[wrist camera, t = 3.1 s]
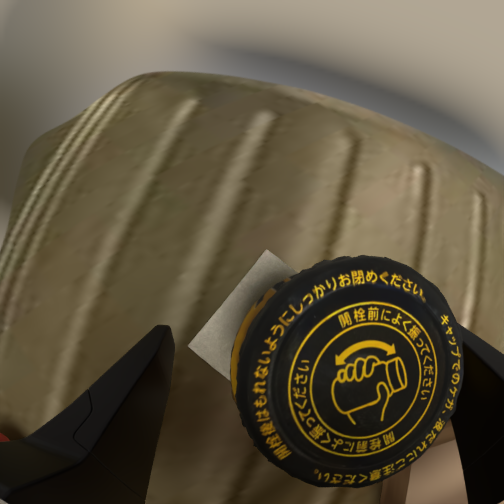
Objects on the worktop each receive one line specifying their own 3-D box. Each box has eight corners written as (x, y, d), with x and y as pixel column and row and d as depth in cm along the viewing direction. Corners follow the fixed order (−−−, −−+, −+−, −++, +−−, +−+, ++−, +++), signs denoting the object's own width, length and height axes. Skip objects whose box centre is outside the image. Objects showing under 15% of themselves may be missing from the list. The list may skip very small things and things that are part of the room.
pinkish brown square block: (481, 508, 12) (506, 522, 8) (368, 552, 12) (384, 579, 8) (501, 398, 15) (535, 401, 11) (384, 435, 15) (412, 453, 11)
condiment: (302, 432, 15) (371, 553, 4) (188, 345, 17) (69, 347, 5) (376, 334, 17) (528, 310, 5) (266, 250, 18) (279, 109, 7)
